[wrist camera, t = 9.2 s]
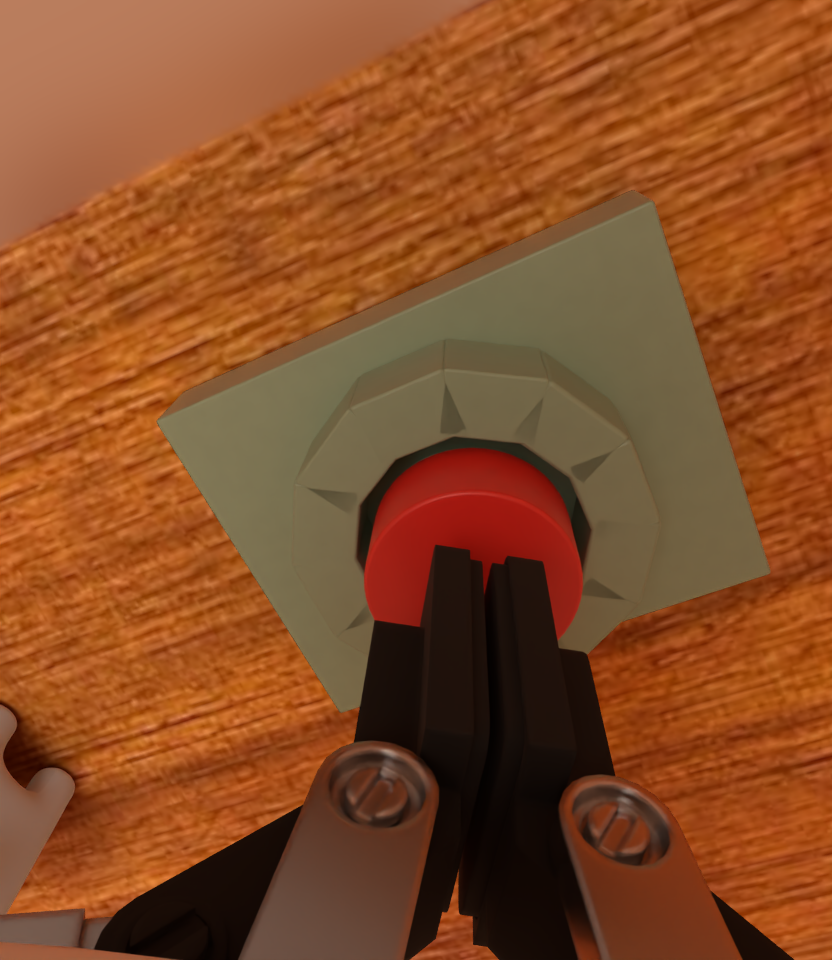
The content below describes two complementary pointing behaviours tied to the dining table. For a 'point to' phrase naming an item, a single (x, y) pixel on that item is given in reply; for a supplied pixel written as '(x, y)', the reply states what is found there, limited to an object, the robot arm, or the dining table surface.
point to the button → (469, 530)
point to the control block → (484, 432)
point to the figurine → (26, 816)
